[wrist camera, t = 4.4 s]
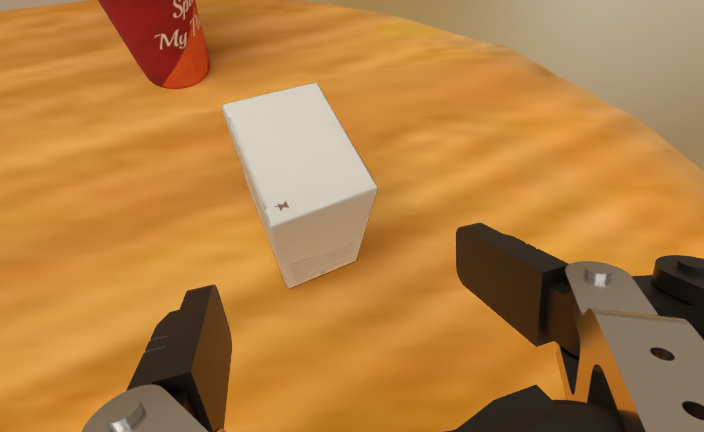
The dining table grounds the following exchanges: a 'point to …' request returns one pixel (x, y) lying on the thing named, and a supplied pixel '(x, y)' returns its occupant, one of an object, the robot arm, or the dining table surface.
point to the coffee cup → (162, 39)
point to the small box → (302, 179)
